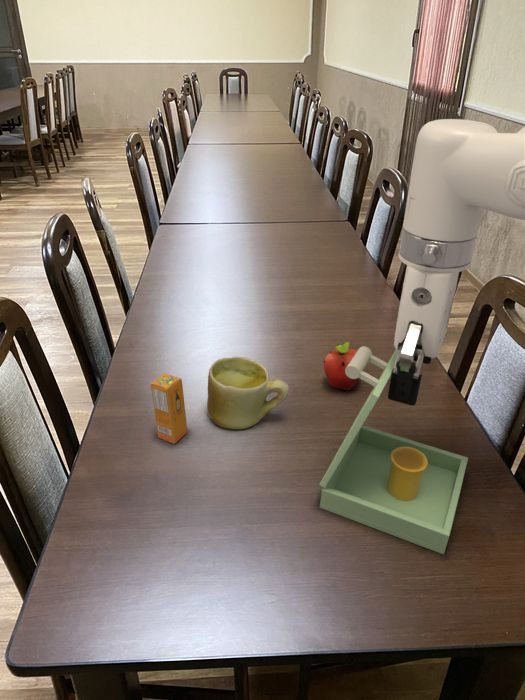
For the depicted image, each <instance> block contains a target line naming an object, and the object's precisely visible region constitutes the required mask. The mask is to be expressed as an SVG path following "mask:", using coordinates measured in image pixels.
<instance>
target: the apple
mask: <svg viewBox="0 0 525 700" xmlns="http://www.w3.org/2000/svg"><path fill="white" fill-rule="evenodd" d="M334 349H335V350H332V351H329V353H328V354H327V355H326V356H325V359H324V360H323V369H324V374H325V376H326V378H327V381H328V383H329V384H330V385H331V387H332V388H334V389H338V390H342V391H350V390H351V389H352V388H353V387H354V386H355V385H356V384H357V382H358V381H359V380H361V379H360V378H357V379H351V378H349V377H348V376H347V375H346V373H345V369H346V367H347V366H348V364H349V363H350V361H351V360H352V358H353V357H354V355H355V354H356V352H357V351H358V350H356V349H353V348H350V341H346V342H343V343H340V344H336V345H335V347H334ZM364 370H365V368H364V369H363V371H364ZM364 372H365V371H364Z"/></svg>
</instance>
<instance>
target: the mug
mask: <svg viewBox="0 0 525 700" xmlns="http://www.w3.org/2000/svg"><path fill="white" fill-rule="evenodd" d="M289 392H290V387H289V384H287V383H286V382H285V381H284V380H281V379H272V380H271V379H270V374H269V371H268V369H266V367H265V366H264V365H263V364H262V363H260V362H258V361H256V360H255V359H252V358H248V357H245V356H232V357H223V358H218V359H217V360H216V361H214V362H213V363H212V364H211V366H210V367H209V369H208V374H207V400H206V401H207V405H206V410H207V415H208V416H209V418H210V419H211V420H212V421H213V422H214V424H215V425H217V426H218V427H220V428H224V429H231V430H245V429H248V428H251V427H253V426H255V425H256V424H258V423H259V422H260V421H261V420H262V419H263V418H265V416H266V415H267V413H268V412H270V410H272V409H274V408H275V407H277V406H278V405H280V404H281V403H283V401H285V400H286V398H287V396H289ZM274 393H276V394H277V395H276V396H274V397H272V398H271V399H269V400H267V397H268V396H269V395H270V394H274Z"/></svg>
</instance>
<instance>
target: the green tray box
mask: <svg viewBox="0 0 525 700" xmlns="http://www.w3.org/2000/svg"><path fill="white" fill-rule="evenodd" d="M398 447H412V448H415V449H417V450H419V451H421V452H422V453H423V454H424V455H425V456H426V458H427V460H428V465H427V468H426V469H425V470H424V471H423V475H422V479H421V483H420V487H419V491H418V495H417V497H416V498H414V499H412V500H409V501H404V500H399V499H397V498H395V497H393V496H392V495H391V494H390V493H389V491H388V489H387V484H388V479H389V474H390V469H391V464H392V462H391V459H390V456H391V453H392V451H393V450H394V449H396V448H398ZM468 460H469V457H467V456H464V455H460V454H457V453H454V452H451V451H448V450H444V449H441V448H439V447H434V446H432V445H428V444H425V443H423V442H422V443H421V442H418V441H415V440H412V439H409V438H407V437H402V436H399V435H396V434H392V433H390V432H386V431H384V430H383V431H382V430H380V429H376V428H373V427H370V426H366V425H364V424H363V425H362V427H361V428H360V430H359V432H358V433H357V435H356V437H355V438H354V440H353V442H352V444H351V445H350V447H349V449H348V450H347V452H346V454H345V455H344V457H343V459H342V460H341V462H340V464H339V465H338V467H337V469H336V470H335V472H334V474H333V475H332V477H331V479H330V480H329V482H328V484H327V485H326V487H325V488H324V487H322V488H321V493H320V503H319V508H320V509H322V510H325V511H327V512H330V513H333V514H335V515H338V516H341V517H343V518H346V519H349V520H350V521H351V520H352V521H354V522H356V523H359V524H361V525H364V526H367V527H369V528H372V529H375V530H378V531H380V532H383V533H386V534H388V535H391V536H394V537H396V538H399V539H400V540H404V541H407V542H409V543H412V544H414V545H417V546H420V547H422V548H425V549H428V550H431V551H433V552H436V553H438V554H441V555H445V552H446V549H447V546H448V543H449V538H450V535H451V531H452V528H453V524H454V519H455V515H456V511H457V507H458V502H459V498H460V494H461V490H462V485H463V482H464V477H465V473H466V469H467V464H468Z"/></svg>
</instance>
